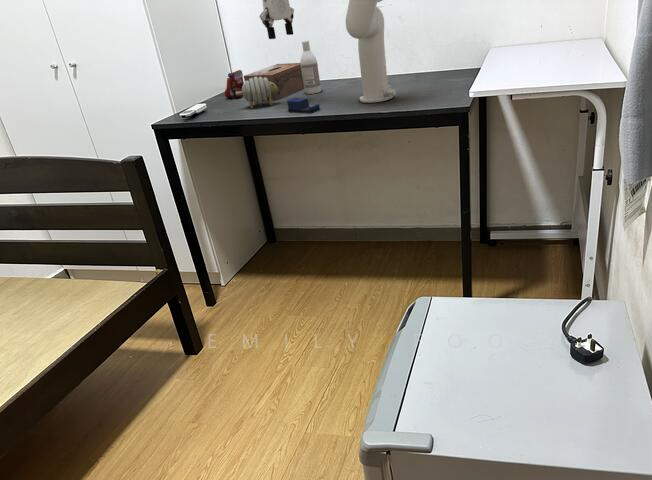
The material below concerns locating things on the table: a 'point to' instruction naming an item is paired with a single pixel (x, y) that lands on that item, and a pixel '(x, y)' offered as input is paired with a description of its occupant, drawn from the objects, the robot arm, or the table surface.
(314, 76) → the bath foam
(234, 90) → the toy fire truck
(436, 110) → the table surface
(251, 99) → the toy sheep
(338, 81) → the table surface
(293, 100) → the navy rounded-end tab
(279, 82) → the tissue box cover
